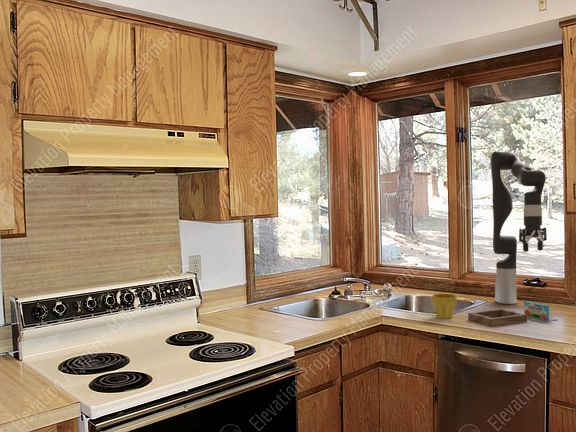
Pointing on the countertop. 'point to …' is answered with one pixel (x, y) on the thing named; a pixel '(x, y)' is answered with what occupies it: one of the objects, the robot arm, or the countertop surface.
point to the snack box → (536, 310)
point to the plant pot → (444, 305)
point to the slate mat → (540, 319)
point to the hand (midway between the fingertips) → (532, 250)
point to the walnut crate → (507, 318)
